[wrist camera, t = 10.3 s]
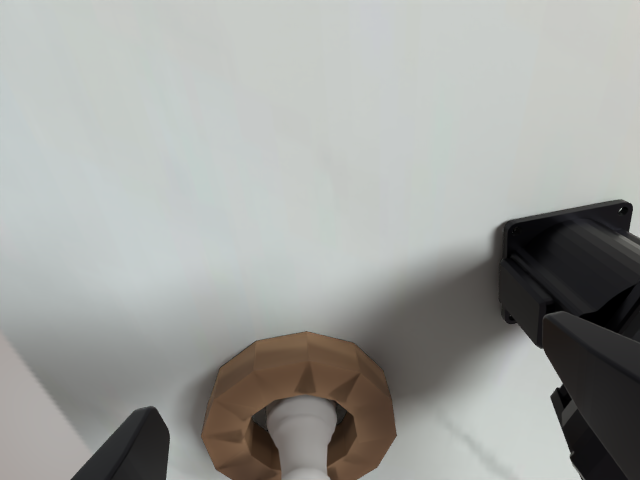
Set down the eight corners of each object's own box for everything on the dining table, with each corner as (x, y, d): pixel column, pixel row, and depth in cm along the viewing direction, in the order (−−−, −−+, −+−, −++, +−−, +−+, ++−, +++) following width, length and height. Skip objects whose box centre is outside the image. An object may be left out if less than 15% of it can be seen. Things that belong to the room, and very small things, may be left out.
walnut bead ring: (375, 318, 24) (384, 346, 22) (393, 444, 29) (402, 478, 26) (187, 353, 24) (177, 385, 22) (237, 473, 29) (233, 509, 27)
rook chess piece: (305, 437, 28) (312, 576, 20) (251, 407, 26) (238, 547, 19) (350, 397, 26) (375, 531, 19) (296, 364, 25) (301, 496, 18)
